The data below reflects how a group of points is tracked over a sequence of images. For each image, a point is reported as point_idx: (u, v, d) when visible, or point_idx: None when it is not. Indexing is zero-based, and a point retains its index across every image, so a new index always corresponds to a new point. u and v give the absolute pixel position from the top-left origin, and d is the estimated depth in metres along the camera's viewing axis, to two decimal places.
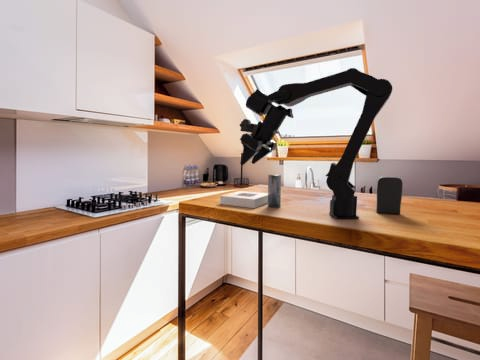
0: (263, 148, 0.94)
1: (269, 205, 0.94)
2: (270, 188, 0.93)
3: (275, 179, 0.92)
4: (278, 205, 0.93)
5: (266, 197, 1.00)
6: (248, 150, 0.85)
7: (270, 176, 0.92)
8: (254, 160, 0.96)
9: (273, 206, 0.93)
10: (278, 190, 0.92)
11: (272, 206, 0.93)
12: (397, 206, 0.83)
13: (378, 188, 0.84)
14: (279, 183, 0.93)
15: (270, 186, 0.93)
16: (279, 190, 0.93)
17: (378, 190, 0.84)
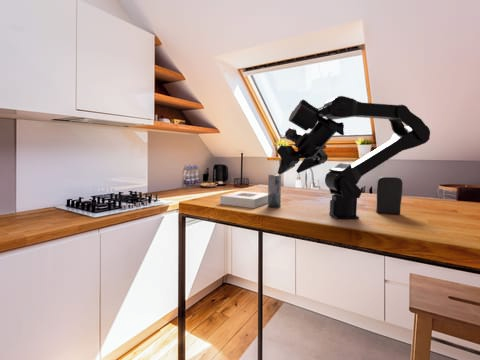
0: (310, 159, 0.88)
1: (269, 205, 0.94)
2: (270, 188, 0.93)
3: (275, 179, 0.92)
4: (278, 205, 0.93)
5: (266, 197, 1.00)
6: None
7: (270, 176, 0.92)
8: (299, 169, 0.91)
9: (273, 206, 0.93)
10: (278, 190, 0.93)
11: (272, 206, 0.93)
12: (397, 206, 0.83)
13: (378, 188, 0.84)
14: (279, 183, 0.93)
15: (270, 186, 0.93)
16: (279, 190, 0.93)
17: (378, 190, 0.84)
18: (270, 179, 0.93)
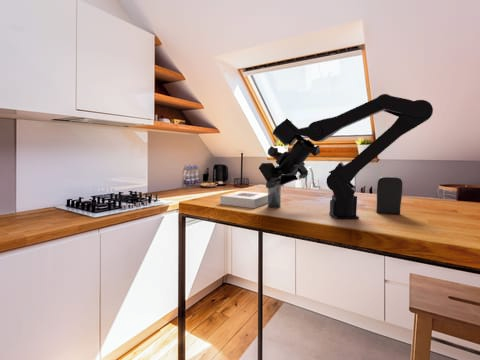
0: (287, 175, 0.93)
1: (269, 205, 0.94)
2: (270, 188, 0.93)
3: None
4: (278, 205, 0.93)
5: (266, 197, 1.00)
6: None
7: None
8: None
9: (273, 206, 0.93)
10: (278, 190, 0.92)
11: (272, 206, 0.93)
12: (397, 206, 0.83)
13: (378, 188, 0.84)
14: (279, 183, 0.93)
15: None
16: (279, 190, 0.93)
17: (378, 190, 0.84)
18: None
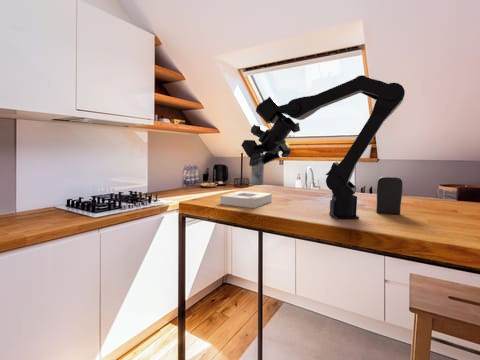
0: (270, 153, 0.96)
1: (252, 183, 0.97)
2: (253, 166, 0.96)
3: None
4: (261, 183, 0.96)
5: (266, 197, 1.00)
6: None
7: None
8: None
9: (256, 183, 0.96)
10: (260, 168, 0.96)
11: (255, 183, 0.96)
12: (397, 206, 0.83)
13: (378, 188, 0.84)
14: (262, 161, 0.96)
15: None
16: (262, 168, 0.96)
17: (378, 190, 0.84)
18: None
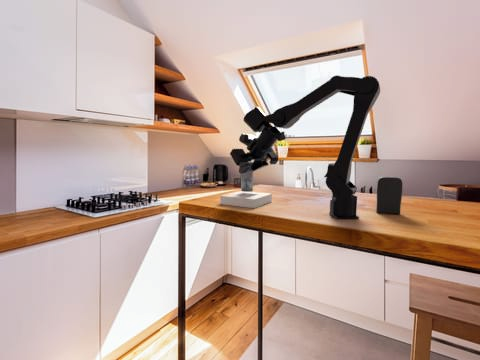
0: (259, 161, 0.99)
1: (242, 189, 1.00)
2: (242, 173, 0.99)
3: None
4: (250, 189, 0.99)
5: (266, 197, 1.00)
6: None
7: None
8: None
9: (245, 190, 0.99)
10: (250, 175, 0.99)
11: (244, 190, 0.99)
12: (397, 206, 0.83)
13: (378, 188, 0.84)
14: (251, 168, 0.99)
15: None
16: (251, 175, 0.99)
17: (378, 190, 0.84)
18: None
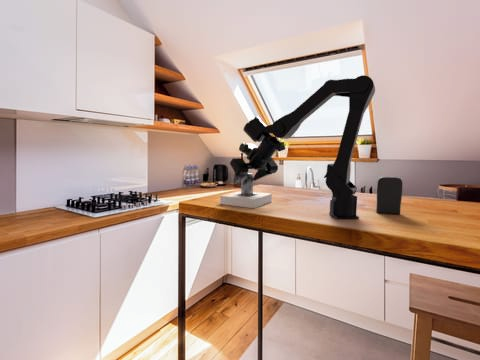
0: (263, 169, 1.01)
1: None
2: (242, 185, 0.99)
3: (246, 177, 0.98)
4: None
5: (266, 197, 1.00)
6: None
7: None
8: (255, 178, 1.04)
9: None
10: (250, 187, 0.99)
11: None
12: (397, 206, 0.83)
13: (378, 188, 0.84)
14: (251, 181, 0.99)
15: (242, 184, 0.99)
16: (251, 187, 1.00)
17: (378, 190, 0.84)
18: None
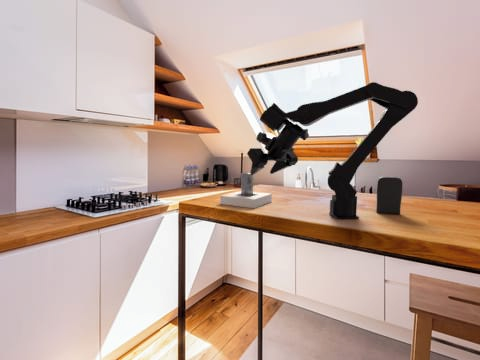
0: (282, 161, 0.93)
1: None
2: (242, 185, 0.99)
3: (247, 177, 0.98)
4: None
5: (266, 197, 1.00)
6: None
7: (242, 174, 0.99)
8: (272, 170, 0.96)
9: None
10: (250, 187, 0.99)
11: None
12: (397, 206, 0.83)
13: (378, 188, 0.84)
14: (251, 181, 0.99)
15: (242, 184, 0.99)
16: (251, 187, 1.00)
17: (378, 190, 0.84)
18: (242, 177, 0.99)
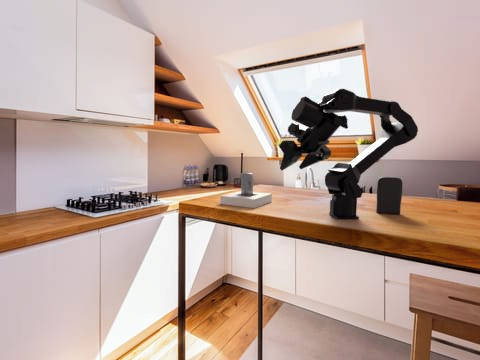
0: (313, 155, 0.86)
1: None
2: (242, 185, 0.99)
3: (247, 177, 0.98)
4: None
5: (266, 197, 1.00)
6: None
7: (242, 174, 0.99)
8: (302, 165, 0.89)
9: None
10: (250, 187, 0.99)
11: None
12: (397, 206, 0.83)
13: (378, 188, 0.84)
14: (251, 181, 0.99)
15: (242, 184, 0.99)
16: (251, 187, 1.00)
17: (378, 190, 0.84)
18: (242, 177, 0.99)
